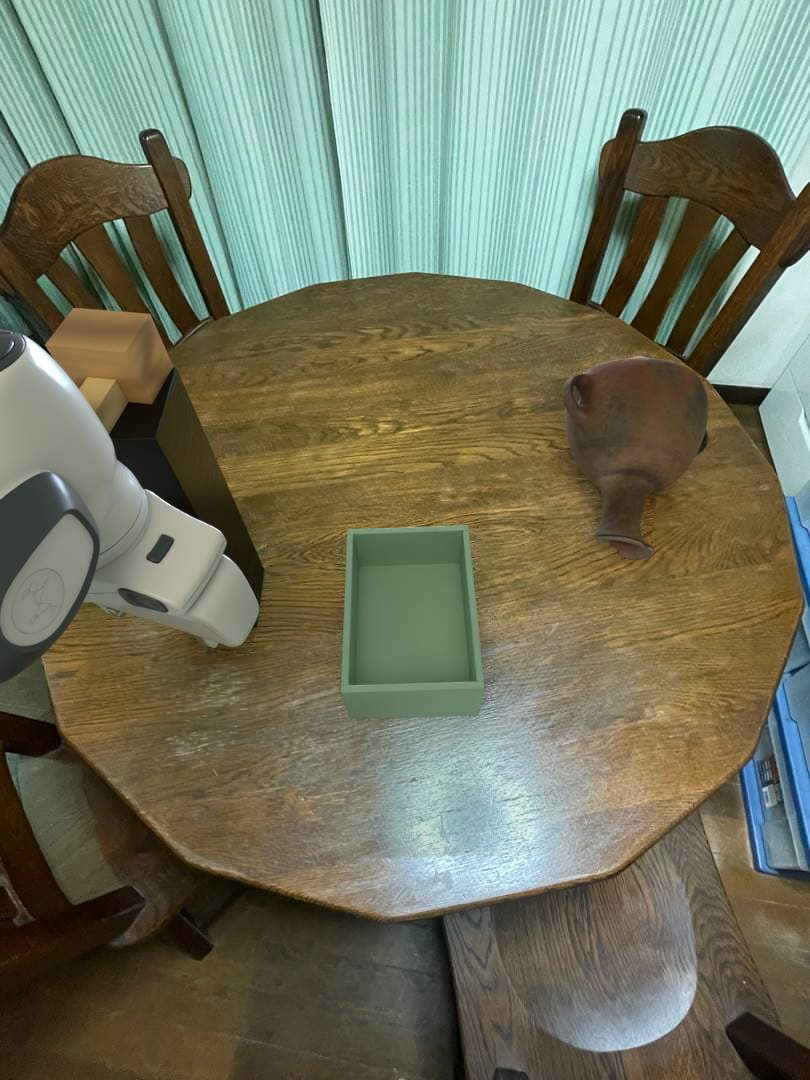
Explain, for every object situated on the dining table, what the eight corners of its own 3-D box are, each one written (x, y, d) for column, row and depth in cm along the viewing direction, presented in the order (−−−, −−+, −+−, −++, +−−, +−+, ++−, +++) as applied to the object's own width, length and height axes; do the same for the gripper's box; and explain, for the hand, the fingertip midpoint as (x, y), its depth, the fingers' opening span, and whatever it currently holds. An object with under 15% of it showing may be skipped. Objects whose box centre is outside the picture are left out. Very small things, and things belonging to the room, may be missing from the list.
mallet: (101, 494, 46) (65, 444, 41) (19, 484, 47) (-26, 434, 42) (173, 366, 54) (150, 313, 49) (102, 360, 55) (73, 307, 50)
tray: (478, 715, 71) (484, 688, 64) (349, 719, 72) (340, 692, 64) (464, 564, 84) (468, 525, 76) (354, 567, 84) (347, 529, 76)
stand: (257, 626, 79) (155, 438, 49) (190, 629, 79) (48, 442, 49) (264, 569, 84) (176, 366, 54) (201, 571, 84) (79, 370, 54)
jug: (575, 406, 100) (545, 565, 89) (572, 318, 84) (535, 499, 72) (707, 411, 93) (693, 584, 82) (732, 315, 77) (720, 517, 65)
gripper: (-55, 535, 42) (48, 621, 53) (197, 614, 38) (250, 689, 49) (5, 470, 45) (90, 565, 57) (243, 536, 41) (282, 624, 52)
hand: (166, 623), depth 53 cm, fingers open, 8 cm apart
